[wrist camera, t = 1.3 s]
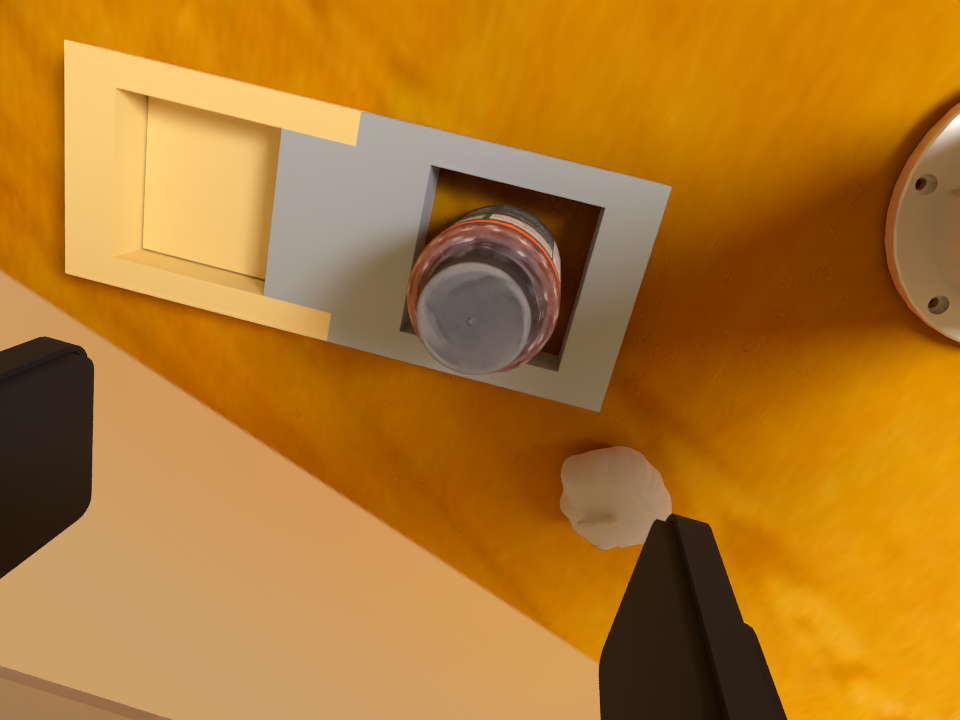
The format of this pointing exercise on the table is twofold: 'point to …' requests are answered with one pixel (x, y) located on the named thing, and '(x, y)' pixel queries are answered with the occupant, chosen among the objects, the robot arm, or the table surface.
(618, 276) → the beige and grey tray
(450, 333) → the supplement bottle
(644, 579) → the robot arm
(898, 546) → the table surface
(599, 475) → the garlic
